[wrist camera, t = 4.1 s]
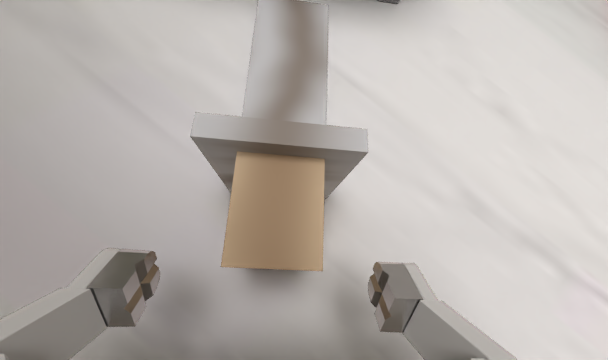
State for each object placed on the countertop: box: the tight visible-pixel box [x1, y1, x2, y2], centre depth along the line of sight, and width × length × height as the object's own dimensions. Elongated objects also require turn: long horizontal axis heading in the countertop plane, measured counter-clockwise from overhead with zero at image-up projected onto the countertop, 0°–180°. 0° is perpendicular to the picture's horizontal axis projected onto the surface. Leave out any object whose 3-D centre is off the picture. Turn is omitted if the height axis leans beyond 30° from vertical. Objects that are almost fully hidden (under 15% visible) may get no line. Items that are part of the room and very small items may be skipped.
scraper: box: [190, 0, 368, 271], centre depth 15 cm, size 7×21×8 cm, turn 178°
